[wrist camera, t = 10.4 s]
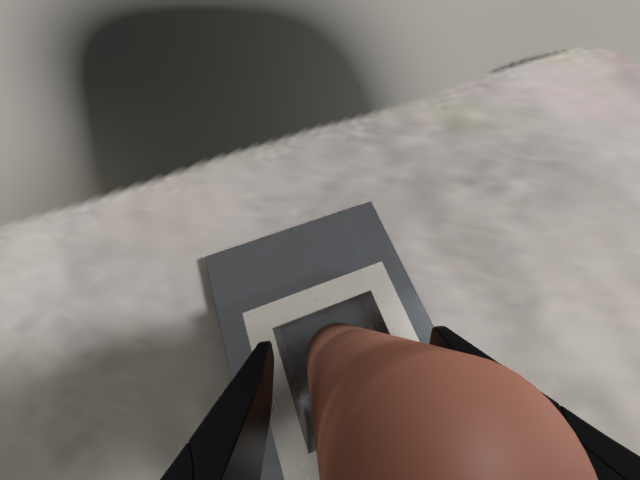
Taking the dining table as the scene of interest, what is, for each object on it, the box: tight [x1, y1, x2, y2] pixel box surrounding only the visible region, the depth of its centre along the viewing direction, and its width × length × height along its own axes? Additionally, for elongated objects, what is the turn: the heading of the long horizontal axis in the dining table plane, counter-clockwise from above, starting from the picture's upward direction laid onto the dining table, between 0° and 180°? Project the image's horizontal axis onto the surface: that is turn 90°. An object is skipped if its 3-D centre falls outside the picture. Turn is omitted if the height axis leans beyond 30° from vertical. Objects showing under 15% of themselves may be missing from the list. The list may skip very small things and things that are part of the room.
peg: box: [306, 323, 598, 480], centre depth 10 cm, size 4×4×13 cm
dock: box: [205, 202, 434, 480], centre depth 15 cm, size 20×14×4 cm
